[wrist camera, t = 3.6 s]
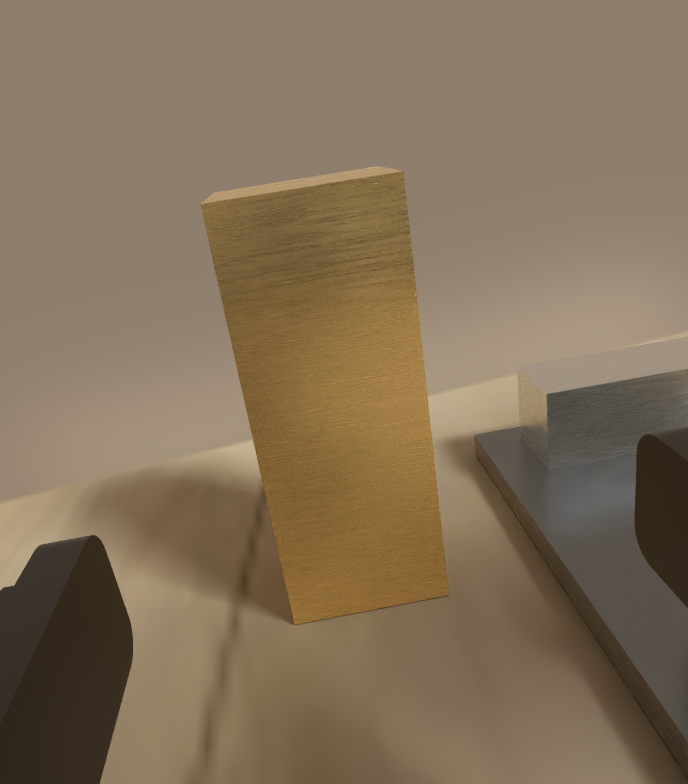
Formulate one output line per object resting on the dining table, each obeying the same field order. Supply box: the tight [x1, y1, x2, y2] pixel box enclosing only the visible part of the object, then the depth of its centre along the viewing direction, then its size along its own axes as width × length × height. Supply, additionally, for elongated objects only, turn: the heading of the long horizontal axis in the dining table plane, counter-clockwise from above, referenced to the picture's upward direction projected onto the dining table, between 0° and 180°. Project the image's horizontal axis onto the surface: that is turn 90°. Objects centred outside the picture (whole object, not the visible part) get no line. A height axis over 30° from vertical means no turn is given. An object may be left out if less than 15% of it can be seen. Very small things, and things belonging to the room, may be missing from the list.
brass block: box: [200, 166, 448, 625], centre depth 20 cm, size 4×5×13 cm
